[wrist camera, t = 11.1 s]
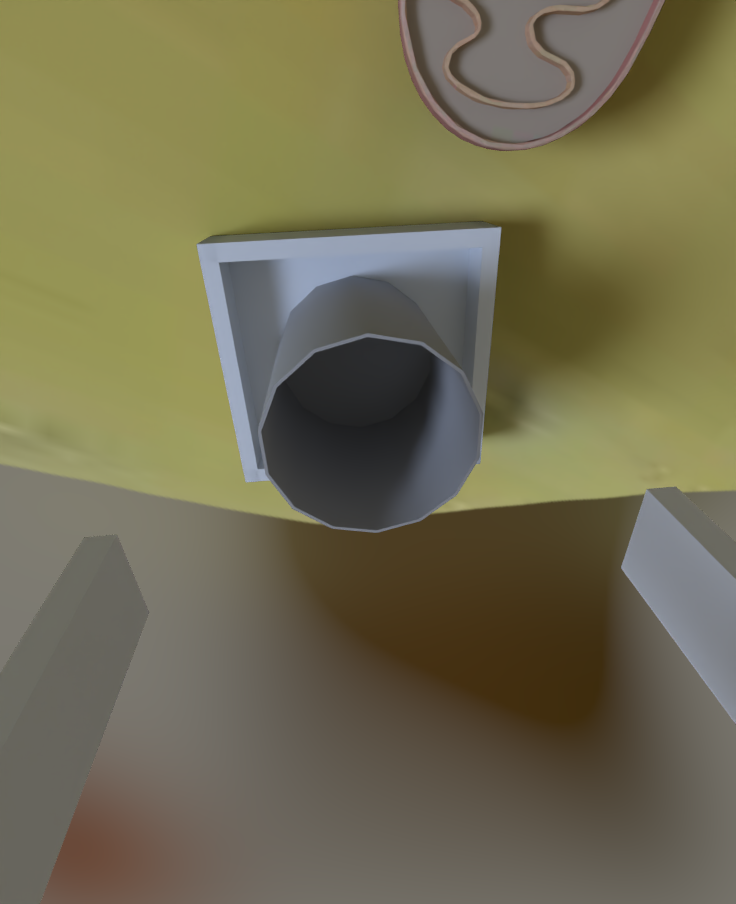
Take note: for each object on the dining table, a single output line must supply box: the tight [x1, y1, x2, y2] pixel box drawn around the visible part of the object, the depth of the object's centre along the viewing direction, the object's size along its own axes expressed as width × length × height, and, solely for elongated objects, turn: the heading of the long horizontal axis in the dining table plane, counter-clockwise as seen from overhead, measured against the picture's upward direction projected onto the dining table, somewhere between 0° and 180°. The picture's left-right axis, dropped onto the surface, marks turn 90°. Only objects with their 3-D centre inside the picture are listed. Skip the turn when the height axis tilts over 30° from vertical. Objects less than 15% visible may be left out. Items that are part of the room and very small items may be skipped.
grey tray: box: [197, 221, 501, 482], centre depth 26 cm, size 13×14×3 cm
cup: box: [258, 276, 483, 533], centre depth 22 cm, size 8×8×10 cm
